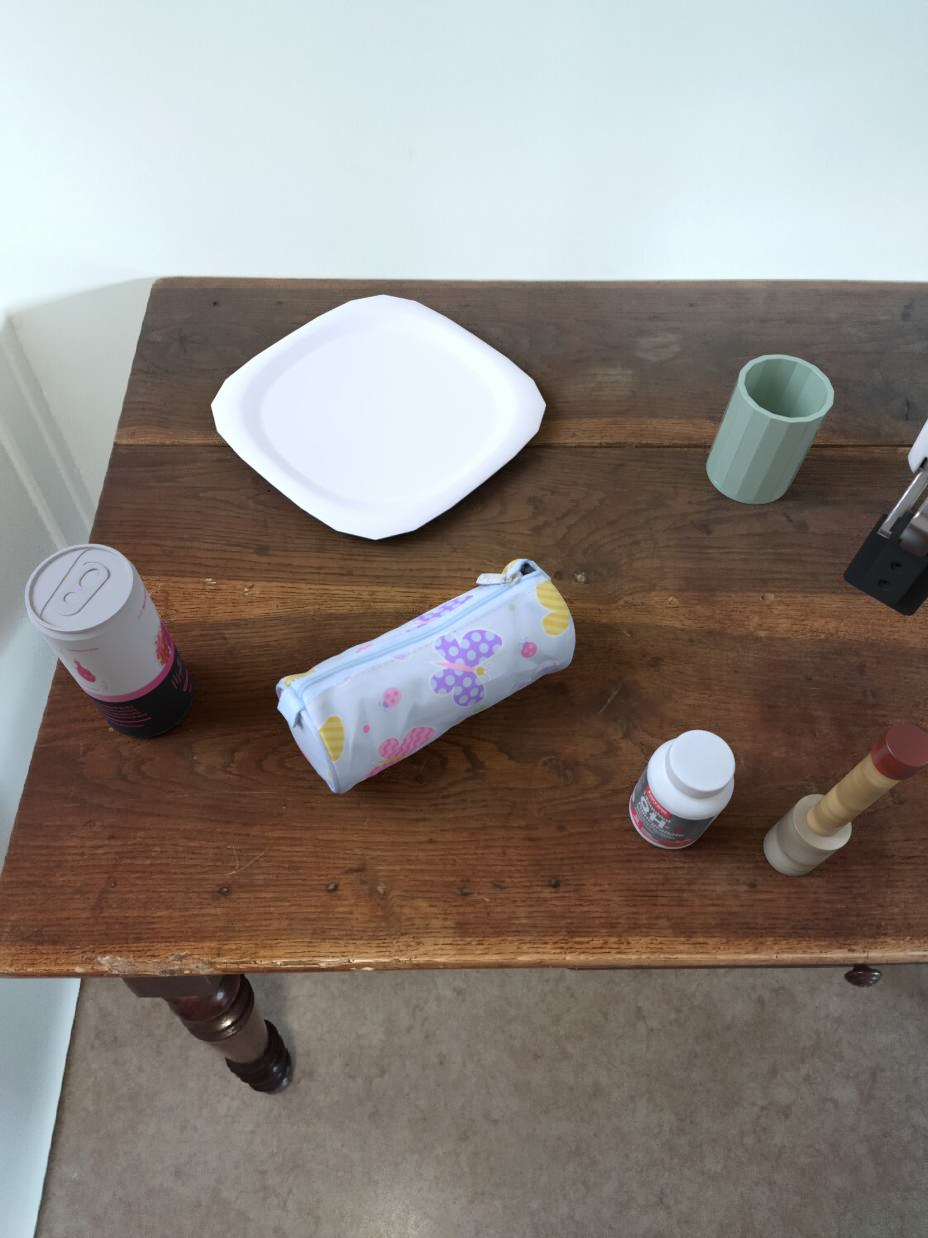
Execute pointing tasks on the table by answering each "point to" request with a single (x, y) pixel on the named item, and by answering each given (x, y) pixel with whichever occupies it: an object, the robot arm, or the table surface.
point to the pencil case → (427, 675)
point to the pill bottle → (683, 789)
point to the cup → (768, 428)
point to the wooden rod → (843, 802)
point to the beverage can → (110, 638)
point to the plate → (378, 415)
